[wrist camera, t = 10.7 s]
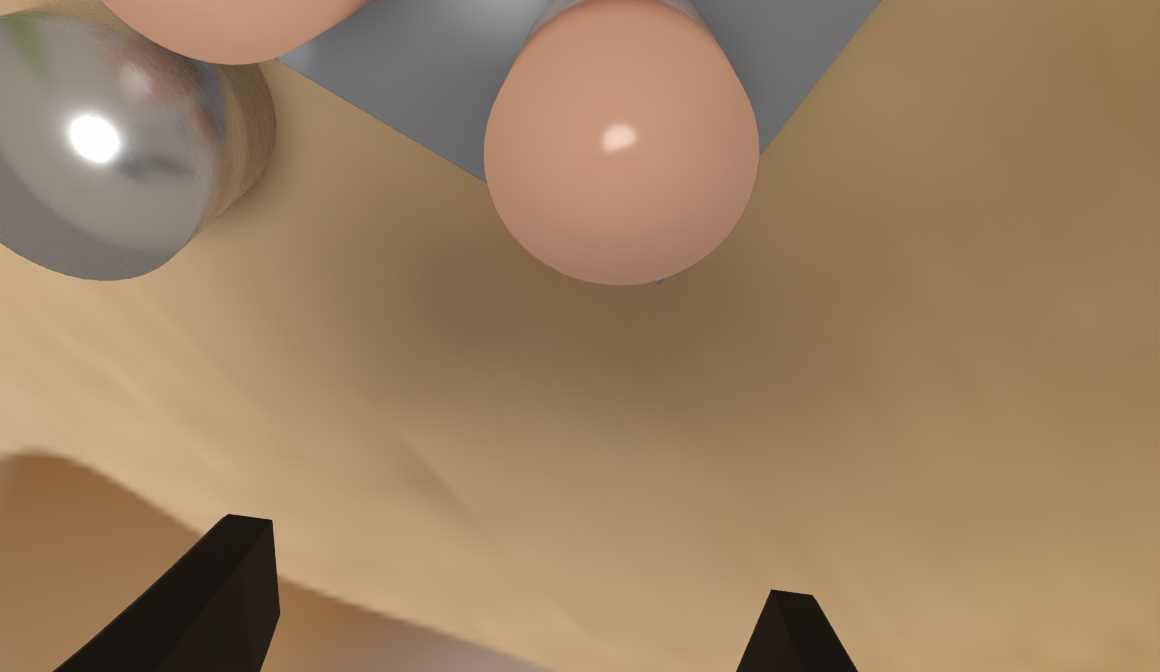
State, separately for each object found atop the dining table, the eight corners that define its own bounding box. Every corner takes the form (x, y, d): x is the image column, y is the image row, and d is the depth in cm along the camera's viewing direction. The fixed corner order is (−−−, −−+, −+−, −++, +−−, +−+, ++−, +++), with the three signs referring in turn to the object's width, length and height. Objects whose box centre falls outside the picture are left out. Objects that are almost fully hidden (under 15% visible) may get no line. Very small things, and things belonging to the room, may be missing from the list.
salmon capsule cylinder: (765, 52, 16) (818, 122, 12) (646, 217, 18) (654, 327, 14) (587, -73, 15) (574, -46, 11) (481, 117, 17) (437, 202, 13)
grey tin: (308, 68, 17) (231, 121, 14) (236, 240, 19) (156, 321, 16) (82, -66, 16) (-64, -45, 12) (34, 135, 18) (-100, 198, 15)
